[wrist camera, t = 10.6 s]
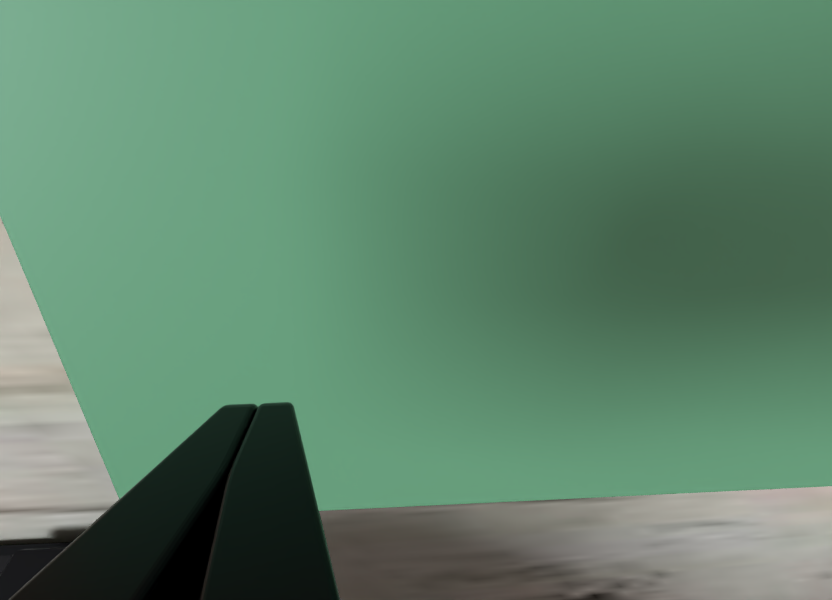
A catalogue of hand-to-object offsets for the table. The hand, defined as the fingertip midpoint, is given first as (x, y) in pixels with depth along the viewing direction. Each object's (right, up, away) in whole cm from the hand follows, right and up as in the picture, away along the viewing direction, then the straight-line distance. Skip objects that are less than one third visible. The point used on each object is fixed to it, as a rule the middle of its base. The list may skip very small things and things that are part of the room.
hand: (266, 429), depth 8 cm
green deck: (+8, +5, +7) cm, 11 cm away
